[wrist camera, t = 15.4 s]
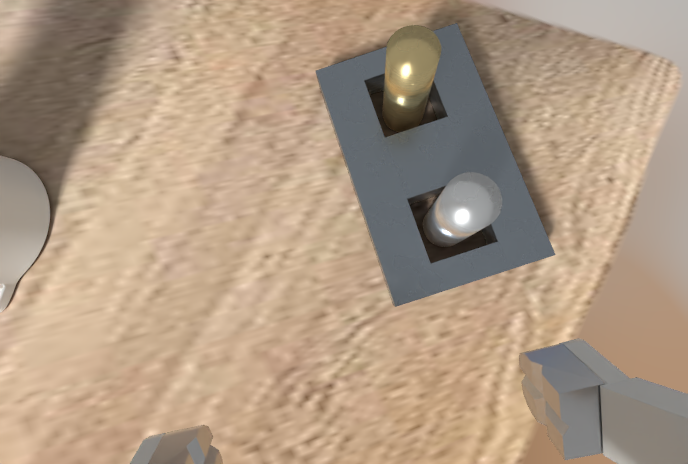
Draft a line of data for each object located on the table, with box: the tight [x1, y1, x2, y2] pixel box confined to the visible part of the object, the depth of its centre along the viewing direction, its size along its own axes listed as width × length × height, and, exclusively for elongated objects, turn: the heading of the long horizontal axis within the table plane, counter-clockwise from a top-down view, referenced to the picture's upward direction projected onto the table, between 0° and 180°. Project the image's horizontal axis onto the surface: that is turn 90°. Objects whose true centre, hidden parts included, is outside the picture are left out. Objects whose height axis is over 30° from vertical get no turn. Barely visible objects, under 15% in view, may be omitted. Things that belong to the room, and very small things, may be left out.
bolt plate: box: [316, 23, 555, 307], centre depth 32 cm, size 14×23×10 cm, turn 18°
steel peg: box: [423, 172, 502, 247], centre depth 31 cm, size 4×4×10 cm
